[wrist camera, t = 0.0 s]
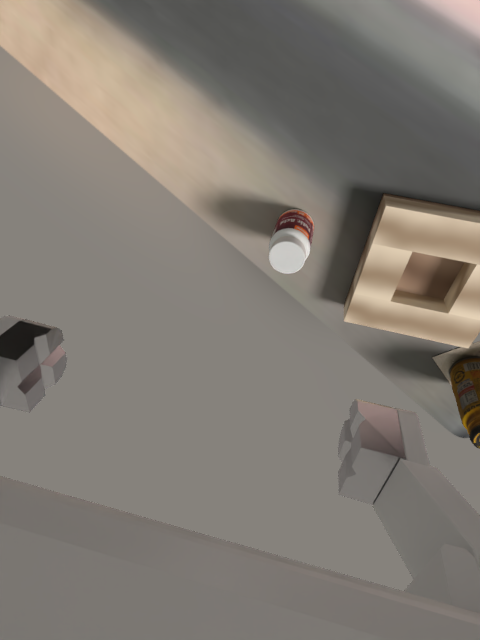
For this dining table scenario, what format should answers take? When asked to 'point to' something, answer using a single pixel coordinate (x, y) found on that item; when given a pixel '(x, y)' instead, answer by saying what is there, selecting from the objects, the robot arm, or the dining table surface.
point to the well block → (419, 272)
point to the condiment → (464, 384)
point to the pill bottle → (291, 241)
